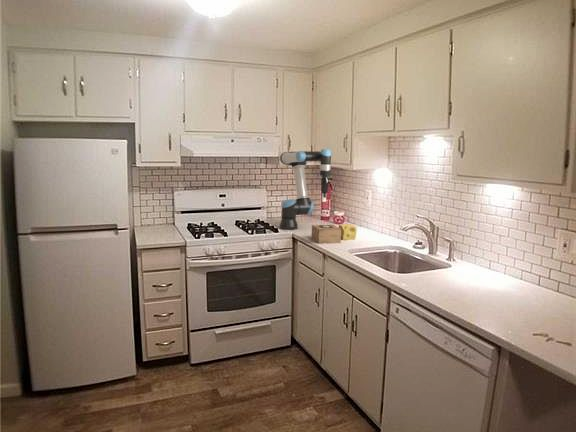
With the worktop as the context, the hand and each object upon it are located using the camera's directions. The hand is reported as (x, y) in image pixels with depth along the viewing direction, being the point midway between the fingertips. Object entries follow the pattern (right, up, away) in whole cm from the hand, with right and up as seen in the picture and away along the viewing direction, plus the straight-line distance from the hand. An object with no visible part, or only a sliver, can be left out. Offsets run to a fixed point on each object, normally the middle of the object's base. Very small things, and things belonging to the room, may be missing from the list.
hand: (323, 201), depth 319 cm
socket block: (0, -28, -14) cm, 32 cm away
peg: (0, -28, -14) cm, 32 cm away
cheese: (+16, -28, -5) cm, 33 cm away
